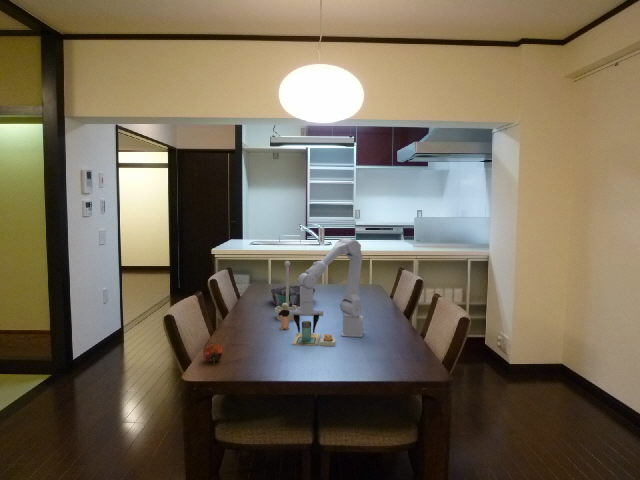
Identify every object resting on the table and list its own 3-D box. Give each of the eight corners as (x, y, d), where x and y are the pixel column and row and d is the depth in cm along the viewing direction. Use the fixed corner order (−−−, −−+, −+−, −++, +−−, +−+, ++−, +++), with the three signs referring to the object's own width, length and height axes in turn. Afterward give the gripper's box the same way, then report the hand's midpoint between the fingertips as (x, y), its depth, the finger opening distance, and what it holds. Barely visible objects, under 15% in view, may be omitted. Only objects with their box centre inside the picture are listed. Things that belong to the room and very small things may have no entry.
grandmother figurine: (278, 330, 202) (278, 304, 201) (276, 328, 206) (276, 302, 205) (294, 329, 205) (294, 303, 203) (292, 327, 208) (292, 301, 207)
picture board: (320, 335, 196) (320, 333, 196) (318, 345, 182) (318, 343, 182) (296, 334, 197) (296, 332, 197) (292, 344, 183) (292, 342, 183)
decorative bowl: (321, 309, 249) (322, 292, 249) (275, 310, 239) (276, 292, 238) (305, 300, 273) (307, 284, 272) (263, 300, 262) (264, 284, 262)
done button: (332, 339, 186) (332, 334, 186) (331, 342, 183) (331, 336, 183) (324, 339, 186) (324, 334, 186) (324, 341, 183) (324, 336, 183)
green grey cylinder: (311, 339, 189) (311, 321, 188) (310, 341, 184) (311, 323, 184) (301, 338, 189) (302, 320, 188) (301, 341, 185) (301, 323, 184)
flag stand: (296, 322, 217) (296, 263, 214) (271, 320, 219) (271, 262, 216) (302, 315, 229) (302, 259, 227) (279, 314, 232) (278, 258, 229)
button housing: (335, 341, 188) (335, 337, 188) (334, 346, 182) (335, 342, 181) (321, 341, 188) (321, 337, 188) (320, 345, 182) (320, 342, 182)
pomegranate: (225, 368, 163) (224, 346, 170) (222, 358, 157) (221, 335, 165) (205, 371, 161) (204, 349, 168) (201, 361, 156) (201, 338, 163)
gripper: (323, 299, 189) (323, 329, 190) (290, 298, 189) (290, 329, 190) (323, 303, 182) (323, 334, 183) (289, 302, 182) (289, 334, 183)
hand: (306, 332), depth 186 cm, fingers open, 6 cm apart
